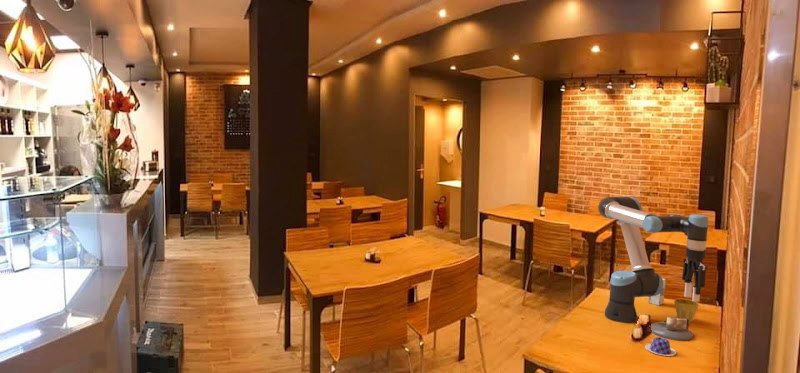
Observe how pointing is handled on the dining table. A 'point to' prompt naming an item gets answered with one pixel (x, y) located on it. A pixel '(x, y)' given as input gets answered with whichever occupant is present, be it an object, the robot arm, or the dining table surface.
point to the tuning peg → (676, 323)
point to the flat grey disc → (671, 332)
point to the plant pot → (685, 308)
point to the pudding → (660, 347)
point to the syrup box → (658, 296)
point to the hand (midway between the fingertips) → (691, 298)
